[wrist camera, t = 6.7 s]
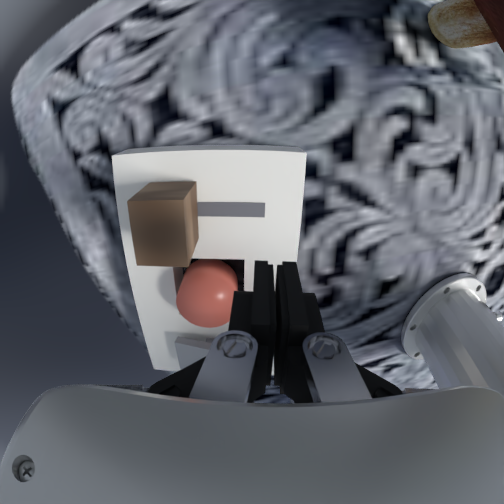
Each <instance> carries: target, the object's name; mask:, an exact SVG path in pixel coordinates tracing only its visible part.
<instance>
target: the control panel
mask: <svg viewBox="0 0 504 504" xmlns="http://www.w3.org/2000/svg"><path fill="white" fill-rule="evenodd" d="M306 154H307V153H306V152H305V151H304V150H302V149H301V148H300V147H290V146H270V145H181V146H162V147H147V148H134V149H127V150H124V151H122V152H119V153H117V154H114V155H112V165H113V176H114V185H115V194H116V202H117V209H118V216H119V223H120V229H121V235H122V241H123V247H124V252H125V258H126V263H127V268H128V273H129V277H130V282H131V286H132V291H133V295H134V299H135V304H136V308H137V312H138V315H139V319H140V323H141V327H142V330H143V334H144V338H145V341H146V345H147V348H148V351H149V355H150V358H151V361H152V364H153V367H154V369H158V370H166V371H179V370H181V369H180V366H179V361H178V357H177V352H176V348H175V343H174V342H175V340H176V338H177V337H178V336H180V337H184V338H189V339H194V340H198V341H203V342H208V343H212V342H213V340H214V339H215V337H217V336H218V335H219V334H221V333H223V332H226V331H228V328H229V322H228V323H226V324H224V325H222V326H219V327H213V328H206V327H200V326H197V325H194V324H192V323H190V322H189V321H187V320H186V319H185V318H184V317H183V316H182V315H181V314H180V312H179V310H178V308H177V305H176V297H177V294H178V291H179V288H180V285H181V282H182V279H183V268H182V267H161V266H137V264H136V258H135V253H134V247H133V241H132V234H131V227H130V220H129V213H128V205H127V201H128V200H129V199H130V198H131V197H133V196H134V195H135V194H136V193H137V192H139V191H140V190H141V189H142V188H143V187H145V186H146V185H147V184H148V183H150V182H183V181H196V183H197V209H198V230H199V239H198V242H197V244H196V247H195V250H194V253H193V256H192V258H197V259H245V263H244V291H253V283H254V264H255V260H261V261H268V264H273V270H274V286H275V284H276V271H277V265H282V262H283V261H288V262H296V263H297V254H298V245H299V235H300V225H301V215H302V204H303V192H304V180H305V167H306ZM271 375H274V356H273V365H272V374H271Z"/></svg>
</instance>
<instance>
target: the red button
mask: <svg viewBox="0 0 504 504" xmlns="http://www.w3.org/2000/svg"><path fill="white" fill-rule="evenodd" d="M234 291H238V279H237V275H236V273H235V272H234V270H233V269H232V268H231V267H230V266H229V265H228V264H227V263H225V262H223V261H221V260H218V259H200V260H197V261H195V262H193V263H192V264H191V265H189V267H188V268H187V269H186V271H185V274H184V276H183V279H182V282H181V285H180V288H179V291H178V294H177V297H176V305H177V308H178V310H179V312H180V314H181V315H182V316H183V317H184V318H185V319H186V320H187V321H189V322H190V323H192V324H194V325H197V326H200V327H206V328H213V327H219V326H222V325H224V324H226V323H228V322H229V321H230V315H231V308H232V301H233V295H234Z"/></svg>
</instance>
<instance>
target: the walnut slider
mask: <svg viewBox="0 0 504 504" xmlns="http://www.w3.org/2000/svg"><path fill="white" fill-rule="evenodd" d="M127 205H128V213H129V220H130V227H131V234H132V241H133V247H134V253H135V258H136V264H137V266H161V267H189V264H190V261H191V258H192V256H193V253H194V250H195V247H196V244H197V242H198V239H199V230H198V209H197V183H196V181H183V182H150V183H148V184H147V185H146V186H145V187H143V188H142V189H141V190H140V191H139V192H137V193H136V194H135V195H134V196H133V197H131V198H130V199H129V200H128V201H127Z"/></svg>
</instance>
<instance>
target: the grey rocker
mask: <svg viewBox="0 0 504 504" xmlns="http://www.w3.org/2000/svg"><path fill="white" fill-rule="evenodd" d="M174 343H175V348H176V352H177V357H178V361H179V366H180V369H183V368H185V367H187V366H189V365H191V364H193V363H194V362H196V361H198V360H200V359H202V358H204V357H205V356H207V353H208V351H209V349H210V346H211V344H212V343H208V342H203V341H198V340H194V339H189V338H184V337H180V336H178V337H177V338H176V340H175V342H174Z"/></svg>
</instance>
